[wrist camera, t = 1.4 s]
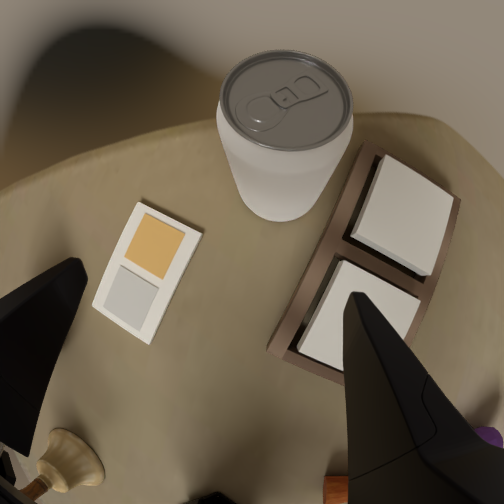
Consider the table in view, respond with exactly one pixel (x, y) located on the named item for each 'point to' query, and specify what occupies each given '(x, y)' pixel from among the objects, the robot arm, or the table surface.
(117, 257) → the pattern card
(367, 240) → the outer pad
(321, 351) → the inner pad
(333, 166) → the can
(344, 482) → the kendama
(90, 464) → the hand bell
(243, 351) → the table surface
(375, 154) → the button board
